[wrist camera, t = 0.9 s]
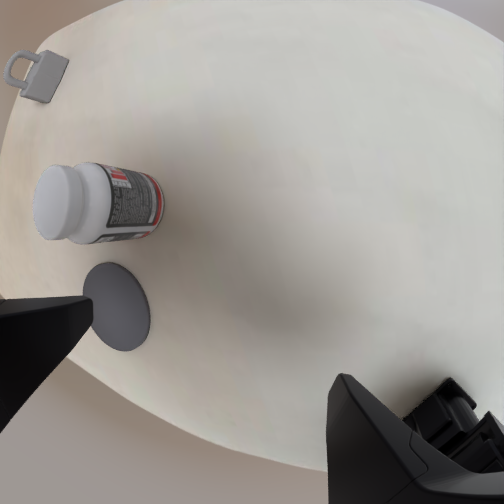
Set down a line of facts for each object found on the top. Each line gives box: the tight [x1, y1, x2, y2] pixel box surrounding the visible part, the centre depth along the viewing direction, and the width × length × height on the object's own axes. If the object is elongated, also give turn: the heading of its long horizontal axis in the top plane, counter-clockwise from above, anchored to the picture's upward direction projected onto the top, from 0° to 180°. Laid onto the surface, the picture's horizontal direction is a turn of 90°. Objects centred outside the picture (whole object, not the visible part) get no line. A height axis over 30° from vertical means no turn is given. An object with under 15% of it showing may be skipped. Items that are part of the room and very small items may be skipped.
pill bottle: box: [33, 162, 164, 244], centre depth 17 cm, size 6×6×10 cm
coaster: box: [83, 263, 150, 351], centre depth 24 cm, size 9×9×1 cm
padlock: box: [4, 50, 69, 103], centre depth 20 cm, size 7×4×10 cm, turn 160°
